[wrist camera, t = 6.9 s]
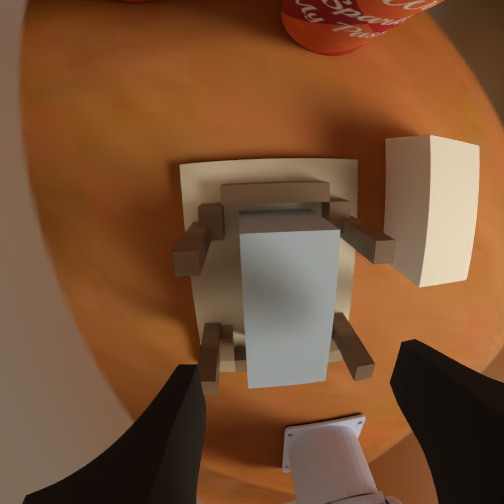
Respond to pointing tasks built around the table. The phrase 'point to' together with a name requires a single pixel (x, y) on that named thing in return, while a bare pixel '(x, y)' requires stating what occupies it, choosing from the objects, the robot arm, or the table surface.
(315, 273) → the grey block
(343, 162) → the jig
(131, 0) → the canned food
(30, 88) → the table surface
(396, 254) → the cream white block
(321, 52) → the paper cup
